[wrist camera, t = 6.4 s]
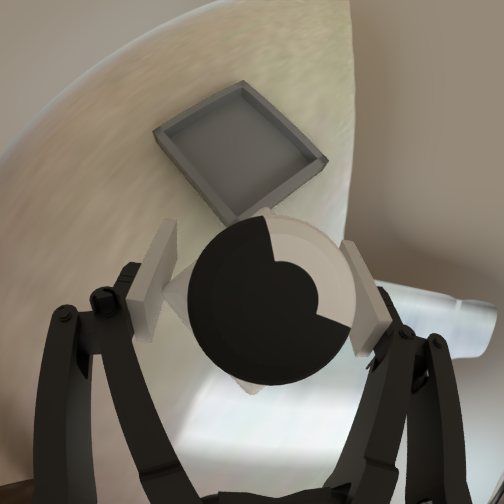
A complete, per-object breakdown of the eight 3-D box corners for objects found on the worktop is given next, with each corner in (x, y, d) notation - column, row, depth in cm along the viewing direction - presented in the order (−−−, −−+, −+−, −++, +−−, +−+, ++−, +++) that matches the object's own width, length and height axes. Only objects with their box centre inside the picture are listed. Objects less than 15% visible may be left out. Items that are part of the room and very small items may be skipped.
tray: (156, 142, 32) (152, 131, 30) (242, 91, 35) (243, 80, 32) (234, 237, 31) (235, 230, 28) (322, 170, 33) (329, 160, 31)
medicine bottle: (241, 368, 20) (267, 443, 8) (178, 295, 20) (123, 284, 8) (312, 306, 21) (409, 305, 9) (252, 234, 21) (288, 156, 10)
